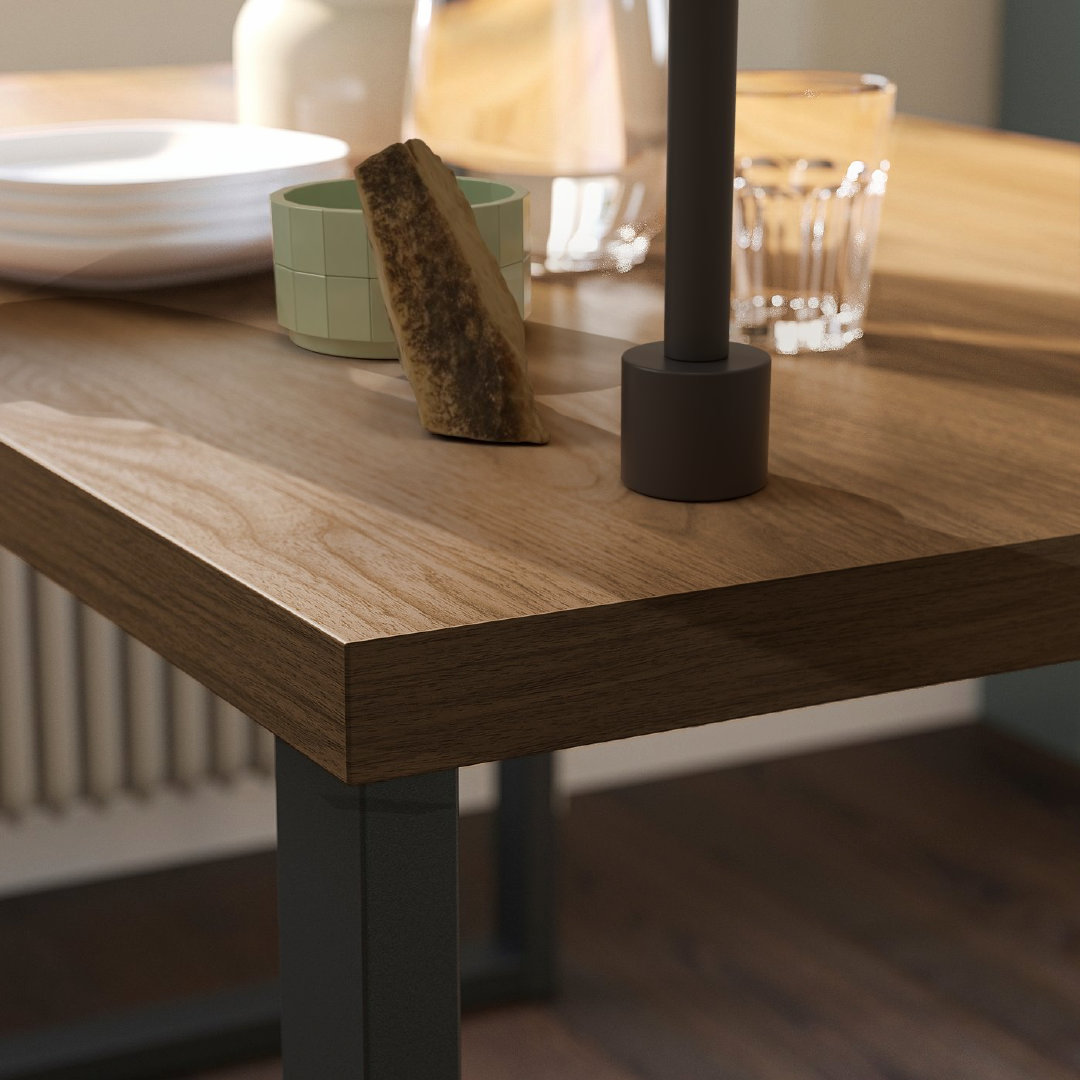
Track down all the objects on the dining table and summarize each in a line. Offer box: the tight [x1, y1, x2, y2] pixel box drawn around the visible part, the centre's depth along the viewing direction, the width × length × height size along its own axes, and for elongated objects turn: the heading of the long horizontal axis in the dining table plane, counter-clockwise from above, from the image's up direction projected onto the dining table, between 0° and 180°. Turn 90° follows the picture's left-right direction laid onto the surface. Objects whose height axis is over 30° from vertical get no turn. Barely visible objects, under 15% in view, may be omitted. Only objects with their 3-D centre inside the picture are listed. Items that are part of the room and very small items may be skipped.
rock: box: [353, 137, 551, 445], centre depth 63 cm, size 11×9×10 cm
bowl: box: [268, 175, 532, 360], centre depth 74 cm, size 11×11×6 cm
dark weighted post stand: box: [620, 0, 773, 502], centre depth 51 cm, size 5×5×24 cm
